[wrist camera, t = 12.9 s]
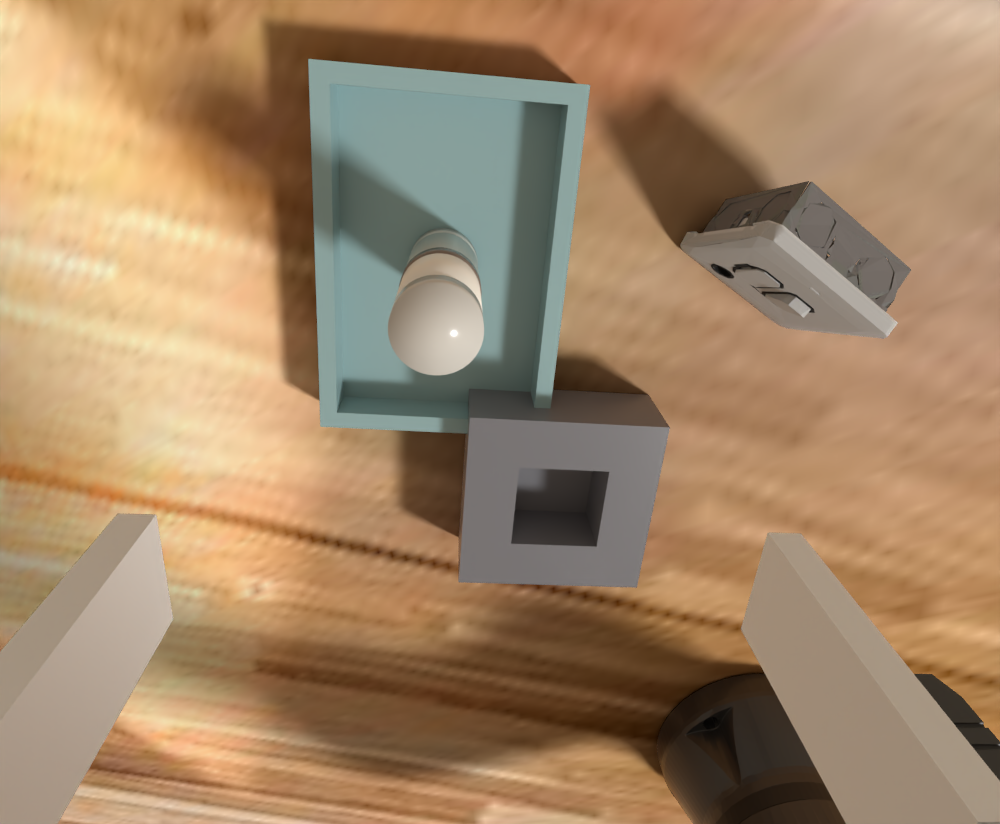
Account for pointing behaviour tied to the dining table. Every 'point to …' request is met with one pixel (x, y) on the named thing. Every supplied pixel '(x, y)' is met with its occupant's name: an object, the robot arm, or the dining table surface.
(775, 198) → the electrical switch
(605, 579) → the fuse holder
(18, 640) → the robot arm
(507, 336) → the parts tray
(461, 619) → the dining table surface
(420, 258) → the cylinder
